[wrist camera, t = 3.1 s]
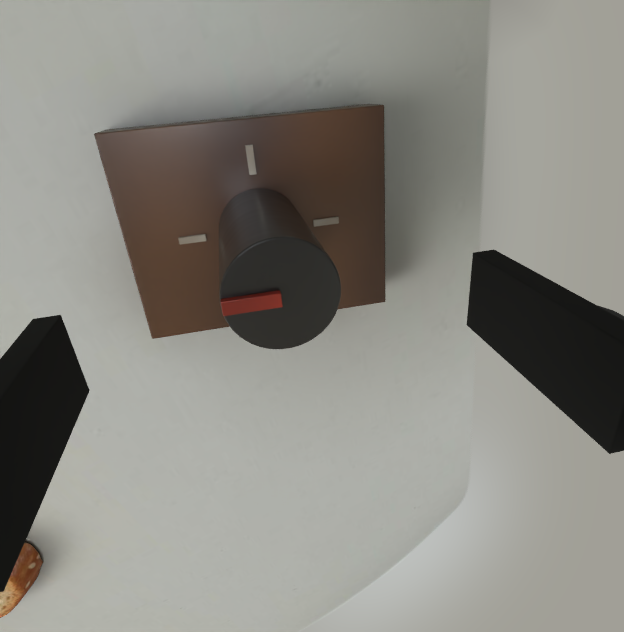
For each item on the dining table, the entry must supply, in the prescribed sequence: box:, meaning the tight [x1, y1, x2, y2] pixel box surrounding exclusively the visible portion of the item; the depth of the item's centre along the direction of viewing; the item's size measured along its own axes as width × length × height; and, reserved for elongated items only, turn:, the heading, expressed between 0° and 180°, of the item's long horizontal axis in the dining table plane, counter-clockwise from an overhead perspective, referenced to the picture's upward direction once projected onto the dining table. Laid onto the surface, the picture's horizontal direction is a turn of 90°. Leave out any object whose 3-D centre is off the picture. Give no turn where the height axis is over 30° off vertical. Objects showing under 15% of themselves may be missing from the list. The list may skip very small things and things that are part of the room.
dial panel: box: [94, 104, 385, 339], centre depth 25 cm, size 14×11×3 cm
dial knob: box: [219, 188, 341, 349], centre depth 20 cm, size 4×4×9 cm
